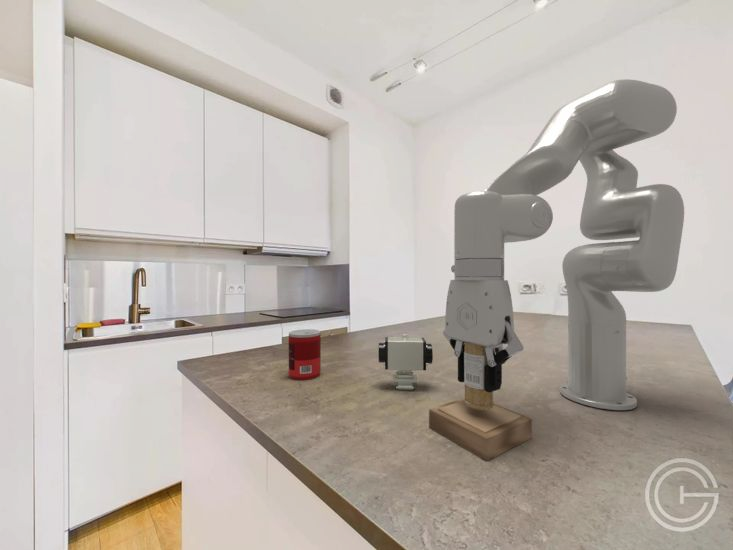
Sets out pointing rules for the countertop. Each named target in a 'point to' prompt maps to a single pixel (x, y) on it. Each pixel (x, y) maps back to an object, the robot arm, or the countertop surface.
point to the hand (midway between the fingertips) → (478, 384)
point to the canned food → (304, 354)
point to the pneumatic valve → (405, 358)
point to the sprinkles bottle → (476, 378)
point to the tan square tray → (481, 427)
